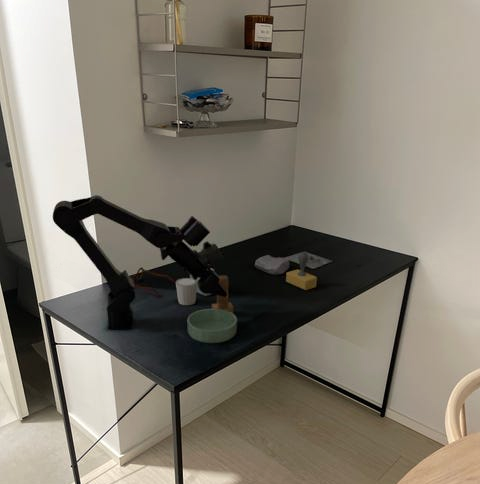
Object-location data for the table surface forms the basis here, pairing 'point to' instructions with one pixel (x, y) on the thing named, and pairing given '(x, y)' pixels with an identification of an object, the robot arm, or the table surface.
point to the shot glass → (186, 291)
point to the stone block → (272, 264)
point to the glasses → (150, 273)
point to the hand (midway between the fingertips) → (222, 289)
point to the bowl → (212, 325)
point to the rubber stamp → (301, 275)
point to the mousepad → (310, 260)
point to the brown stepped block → (223, 301)
